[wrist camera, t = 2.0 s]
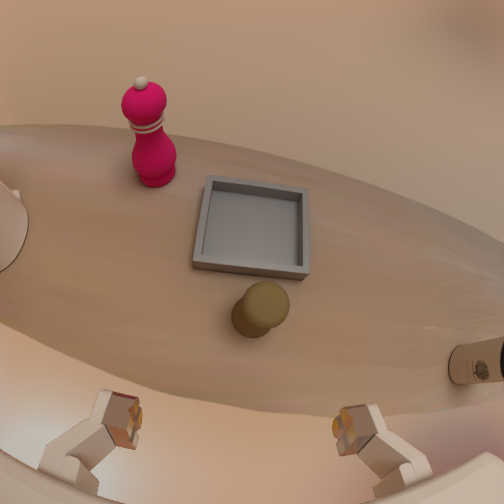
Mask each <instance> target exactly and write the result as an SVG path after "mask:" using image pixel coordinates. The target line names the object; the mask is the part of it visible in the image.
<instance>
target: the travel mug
mask: <svg viewBox="0 0 504 504" xmlns="http://www.w3.org/2000/svg"><path fill="white" fill-rule="evenodd" d="M449 373H450V377H451V379H452V381H453V382H454V383H456V384H474V383H489V382H501V381H504V336H503V337H499V338H495V339H490V340H486V341H481V342H476V343H471V344H465V345H460V346H458V347H457V348H456V349H455V350H454V351H453V353H452V355H451V358H450V363H449Z"/></svg>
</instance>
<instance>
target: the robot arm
mask: <svg viewBox="0 0 504 504" xmlns="http://www.w3.org/2000/svg"><path fill="white" fill-rule="evenodd" d="M27 227H28V216H27V212H26V209H25V207H24V206H23V204H22V197H21V192H20V191H18V190H12V191H11V190H9V189H8V188H7V187H6V186H5V185H4V184H3V183H2V182H1V181H0V271H2V270H3V269H5V268H6V267H7V266H8V265H10V264H11V263H12V261H13V260H14V259H15V258H16V256H17V255H18V253H19V251H20V249H21V247H22V245H23V243H24V240H25V237H26V233H27ZM339 412H340V415H338V416H337V417H336V418H335V419H334V421H333V426H332V429H333V435H334V437H335V438H337V439H338V442H337V444H336V445H337V449H338V453H339V456H346V455H353V454H357V456H358V457H359V458H360V459H361V460H362V461H363V462H364V463H365V464H366V465H367V466H368V467H369V468H370V469H371V470H372V471H374V472H375V473H376V474H377V475H378V476H379V477H380V478H381V479H382V480H380V481H379V482H378V483H376V484H375V485H374V486H373V491H374V494H375V497H376V499H375V500H371V501H368V502H364V503H361V504H504V462H503V461H502V460H501V459H500V458H498V457H496V456H495V455H493V454H491V453H489V452H486V451H484V452H480V453H478V454H477V455H475V456H473V457H472V458H470V459H468V460H466V461H465V462H463V463H461V464H459V465H457V466H455V467H454V468H452V469H450V470H448V471H446V472H444V473H442V474H440V475H437V476H435V477H434V474H433V472H432V470H431V467H430V465H429V463H428V460H427V458H426V456H425V455H424V454H423V453H421V452H420V451H418V450H417V449H415V448H414V447H412V446H411V445H410V444H408V443H407V442H406V441H404V440H403V439H401V438H400V437H399V436H397V435H396V434H395V433H393V432H392V431H388V429H387V427H386V425H385V422H384V420H383V418H382V415H381V413H380V411H379V408H378V406H377V405H376V404H375V403H371V404H362V405H355V406H347V407H343V408H341V410H340V411H339ZM141 423H142V409H141V407H139V399H138V397H135V396H130V395H126V394H121V393H117V392H114V391H110V390H105V389H101V390H100V392H99V394H98V396H97V399H96V401H95V404H94V407H93V410H92V412H91V415H90V417H89V420H87V419H85V420H83V421H82V422H80V423H79V424H77V425H76V426H75V427H73V428H72V429H70V430H68V431H67V432H65V433H64V434H63V435H61V436H60V437H58V438H56V439H55V440H53V441H52V442H50V443H49V444H47V445H46V448H45V450H44V453H43V456H42V458H41V461H40V464H39V467H38V470H35V469H34V468H32V467H30V466H28V465H26V464H24V463H23V462H21V461H19V460H17V459H15V458H14V457H12V456H11V455H9V454H7V453H6V452H4V451H2V450H1V449H0V504H124V503H120V502H117V501H113V500H109V499H106V498H103V497H100V496H97V490H98V486H99V481H98V480H97V478H96V477H95V476H94V475H93V474H92V473H91V472H90V470H91V469H92V468H94V467H95V466H96V465H97V464H98V463H99V462H100V461H101V460H102V459H103V458H104V457H106V456H107V455H108V454H109V453H110V452H111V451H112V450H113V449H114V448H115V447H116V446H119V447H123V448H128V449H133V450H136V446H137V442H138V434H137V430H139V429H140V428H141Z"/></svg>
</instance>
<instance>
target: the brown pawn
mask: <svg viewBox="0 0 504 504" xmlns="http://www.w3.org/2000/svg"><path fill="white" fill-rule="evenodd" d="M289 307H290V304H289V298H288V296H287V293H286V292H285V291H284V289H283V288H282V287H281V286H279V285H277V284H276V283H273V282H269V281H267V282H259V283H256V284H253V285H252V286H251V287H250V288H248V289H247V291H246V292H245V294H244V296H243V298H242V299H241V300H239V301H238V302H237V303H236V304H235V306H234V307H233V310H232V323H233V325H234V327H235V329H236V330H237V331H238V332H239V333H240V334H242V335H243V336H246V337H250V338H258V337H260V336H263V335H265V334H266V333H267V332H268V331H269V330H270V329H271V328H273V327H276V326H278V325H280V324H281V323H282V322H283V321H284V320H285V318H286V317H287V315H288V312H289Z"/></svg>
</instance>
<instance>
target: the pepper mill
mask: <svg viewBox="0 0 504 504" xmlns="http://www.w3.org/2000/svg"><path fill="white" fill-rule="evenodd" d="M166 101H167V100H166V94H165V92H164V90H163V88H162V87H160V86H159V85H157V84H156V83H153V82H148V80H147V78H145V77H143V76H141V77H138V78H136V79H135V81H134V86H132V87H131V88H129V89H128V90H127V91H126V93H125V94H124V96H123V98H122V104H121V107H122V112H123V114H124V116H125V117H126V118H127V119H128V120H129V124H130V128H131V130H132V131H134V132H135V135H136V143H135V146H134V149H133V152H132V162H133V166H134V168H135V170H136V171H137V172H138V173H139V175H140V178H141V181H142V182H143V183H144V184H145V185H147V186H150V187H161V186H163V185H166V184H167V183H169V182H170V181H171V180H172V179H173V177H174V175H175V164H174V163H175V161H176V150H175V146H174V144H173V143H172V141H171V139H170V138H169V137H168V136H167V135H166V134H165V132H164V131H163V127H162V125H163V123H164V121H165V116H164V109H165V107H166Z"/></svg>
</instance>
